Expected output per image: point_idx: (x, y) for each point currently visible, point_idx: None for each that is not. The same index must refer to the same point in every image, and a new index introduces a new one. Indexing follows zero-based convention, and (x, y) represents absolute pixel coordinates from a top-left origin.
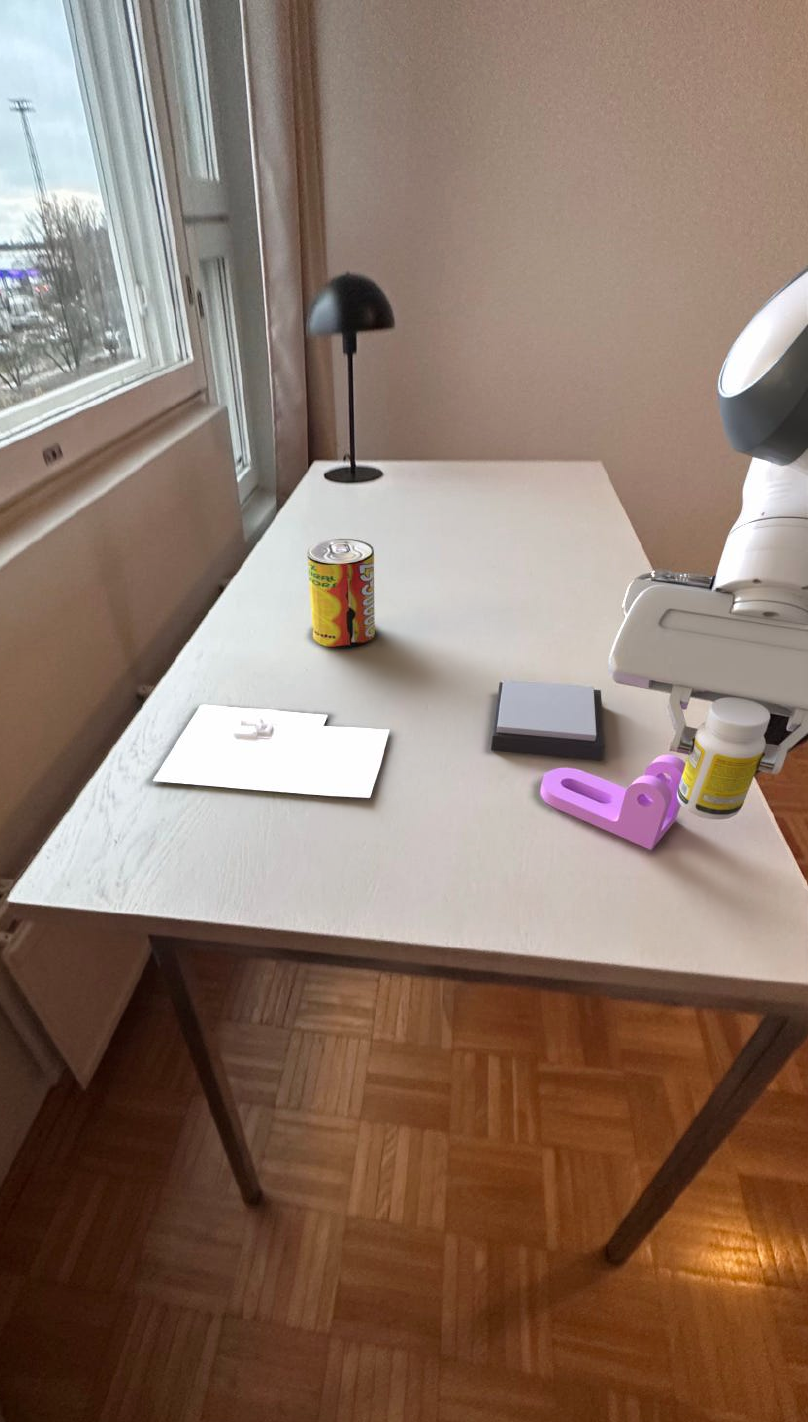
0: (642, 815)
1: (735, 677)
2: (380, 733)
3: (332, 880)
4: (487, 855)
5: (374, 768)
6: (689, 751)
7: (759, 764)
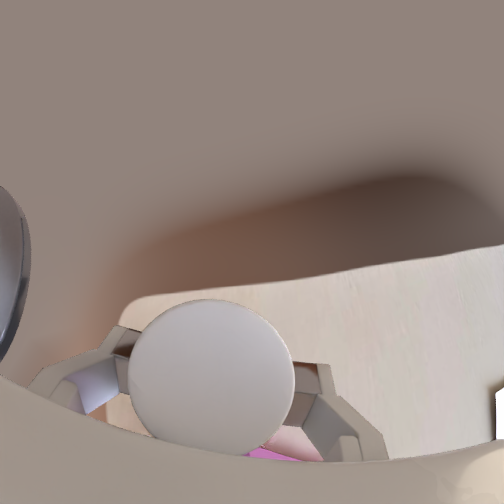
0: (270, 458)
1: (238, 491)
2: None
3: (482, 294)
4: (402, 374)
5: (498, 432)
6: None
7: None
